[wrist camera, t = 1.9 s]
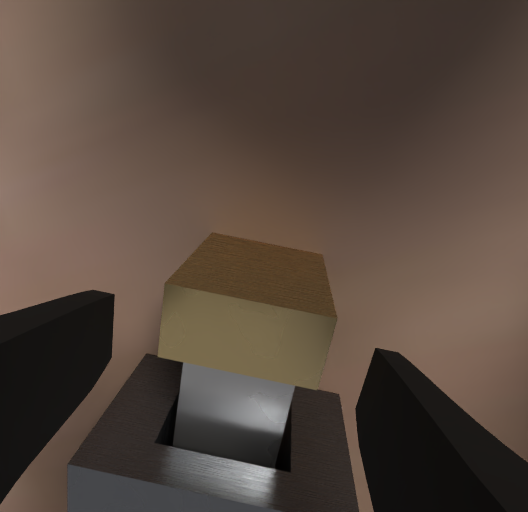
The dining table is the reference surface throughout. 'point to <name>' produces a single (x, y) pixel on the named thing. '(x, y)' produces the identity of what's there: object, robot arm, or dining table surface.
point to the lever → (244, 343)
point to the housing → (207, 457)
